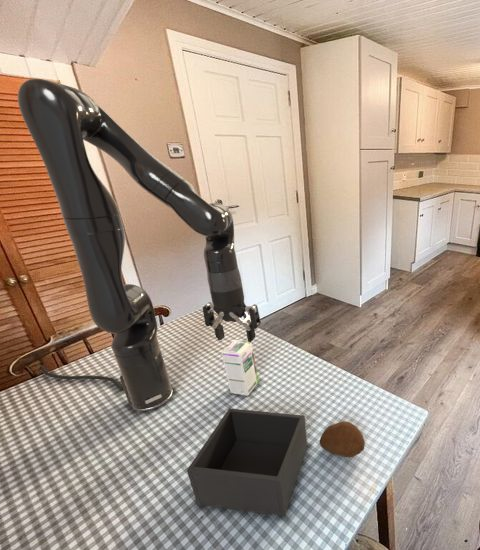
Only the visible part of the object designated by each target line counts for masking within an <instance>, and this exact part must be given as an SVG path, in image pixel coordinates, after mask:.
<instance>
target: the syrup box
mask: <svg viewBox="0 0 480 550" xmlns="http://www.w3.org/2000/svg"><path fill="white" fill-rule="evenodd" d="M221 356H222V360H223V365H224V369H225V373H226V378H227V383H228V387H229V392H230V394H235V395H241V396H249V395H250V394H251V393H252V391H254V389H255V388H256V386H257V385H258V384H259V383H260V381H259V376H258V371H257V365H256V359H255V353H254V348H253V343H252V342H248V340H242V339H234V340H232V342H230V343H229V344H228V345H227V346H226V347H225V348H224V349H223V350H222V351H221Z"/></svg>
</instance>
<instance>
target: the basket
mask: <svg viewBox="0 0 480 550" xmlns="http://www.w3.org/2000/svg"><path fill="white" fill-rule="evenodd" d="M307 450H308V437H307V427H306V416H305V415H303V414H293V413H283V412H282V413H281V412H272V411H263V410H250V409H240V408H230V407H229V408H228V409H227V410H226V412H225V414H224V415H223V417H222V418H221V419H220V421H219V422H218V423H217V425H216V426H215V428H214V429H213V431H212V432H211V434H210V435H209V437H208V438H207V440H206V441H205V443H204V444H203V446H202V447H201V449H200V450H199V451H198V453H196V456H195V457H194V459H193V460H192V461H191V463H190V465H189V466H188V467H187V469H186V473H187V476H188V479H189V483H190V486H191V489H192V493H193V496H194V499H195V502H196V505H197V506H202V507H208V508H209V507H211V508H217V509H225V510H232V511H233V510H234V511H241V512H247V513H257V514H264V515H272V516H277V517H278V516H279V517H286V515H287V512H288V508H289V505H290V503H291V500H292V496H293V494H294V490H295V487H296V485H297V482H298V479H299V475H300V472H301V468H302V465H303V463H304V459H305V456H306V453H307Z"/></svg>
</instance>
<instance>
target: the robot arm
mask: <svg viewBox="0 0 480 550" xmlns="http://www.w3.org/2000/svg"><path fill="white" fill-rule="evenodd" d="M17 104H18V107H19V111H20V115H21V116H22V119H23V121H24V124H25V125H26V128H27V130H28V133H29V134H30V136H31V138H32V140H33V142H34V144H35V147H36V148H37V150H38V153H39V155H40V157H41V160H42V162H43V164H44V166H45V169H46V172H47V175H48V177H49V180H50V184H51V186H52V189H53V192H54V194H55V197H56V199H57V203H58V206H59V210H60V213H61V217H62V220H63V223H64V225H65V228H66V229H65V230H66V231H67V235H68V237H69V239H70V243H71V244H72V247H73V250H74V253H75V257H76V261H77V264H78V267H79V269H80V273H81V277H82V280H83V284H84V289H85V296H86V302H87V306H88V311H89V315H90V318H91V319H92V321H93V323H94V324H95V325H96V326H97V327H98V328H99V329H100V330H102V331H104V332H105V333H109V334H114V336H113V339H112V341H111V349H112V353H113V355H114V358H115V360H116V363H117V367H118V369H119V371H120V376H119V380H120V382H119V381H117V380H116V379H115V378H112V377H109V376H103V375H102V376H101V375H59V374H55V373H52V372H49V371H48V370H47V368H46V367H45V365H43V364H41V365H40V366H39V370H41V371H42V372H43V374H44V375H45V376H47V377H50V378H53V379H54V378H55V379H61V380H102V381H109V382H111V383H113V384H114V385H115V386H116V388H118V389H119V390H120V391H124V395H125V397H126V399H127V402H128V405H129V406H131V407H132V409H133V410H135V411H137V412H149V411H153V410H155V409H157V408H159V407H161V406H163V405H165V404H166V403H167V402H168V401H169V400H170V399H171V398H172V397H173V395H174V389H173V387H172V385H171V380H170V377H169V374H168V371H167V367H166V363H165V359H164V356H163V352H162V350H161V346H160V342H159V340H158V328H159V327H158V322H157V318H156V313H155V309H154V305H153V302H152V298H151V297H150V295H149V294H148V292H147V291H146V290H145V289H144V288H143V287H140V286H139V285H136V284H134V283H133V284H132V283H125V284H124V281H123V275H122V274H123V273H122V270H123V269H122V267H123V259H124V254H125V248H126V247H125V246H126V232H125V227H124V223H123V219H122V216H121V212H120V209H119V206H118V204H117V202H116V200H115V198H114V197H113V195H112V194H111V192H110V191H109V190H108V188H107V187H106V186H105V184H104V183H103V182H102V180H101V178H100V177H99V176H98V175H97V174H96V172H95V170H94V169H93V167H92V164H91V163H90V159H89V156H88V153H87V149H86V146H85V142H87V143H89V144H90V145H93V146H94V147H96V148H98V149H99V150H101V151H102V152H104V153H106V154H107V155H108V156H109V157H111V158H112V159H113V160H114V161H116V162H117V163H118V164H119V165H120V167H121V168H123V169H124V171H125V172H126V173H127V174H128V175H129V177H131V179H132V180H133V181H134V182H135V183H136V184H137V185H138V186H139V187H140V188H142V189H143V190H144V191H146V192H147V193H148V194H150V196H153V198H155V199H156V200H158V201H159V202H161V203H163V204H164V205H165V206H166V207H168V208H169V209H171V210H172V211H173V212H174V213H175V214H176V215H177V217H179V218H180V219H181V220H182V221H183V222H184V223H185V224H186V225H187V226H188V227H189V228H190V229H191V230H193V231H194V232H195V233H197V234H199V235H200V236H202V237H205V247H204V250H203V259H204V264H205V269H206V275H207V276H206V277H207V278H206V279H207V284H208V288H209V293H210V297H211V301H209V302H208V303H206V304H205V305H204V306H202V313H203V319H204V325H205V327H212V329H213V331H214V335H215V338H216V339H217V341H222V340H223V339H224V338H225V330H224V326H223V324H222V323H223V322H225V323H228V322H232V323H237V324H238V325H239V326H242V327H243V328H244V329H245V333H246V338H247V341H248V342H251V343H252V342H253V341H254V340H255V338H256V330H257V329H258V327H259V326H260V325H261V323H262V322H261V317H260V311H259V307H258V305H257V304H256V303H255V304H252V305H246V304H245V293H244V289H243V287H244V286H243V282H242V276H241V272H240V269H239V265H238V264H239V263H238V259H237V253H236V249H235V225H234V219H233V216H232V215H233V214H232V212H231V211H230V209H229V208H228V207H227V206H226V205H224V204H223V203H220V202H210V203H208V202H207V201H206V200H205V199H204V198H202V197H201V196H200V195H199V194H198V193H197V189H196V188H195V186H194V185H193V184H191V182H190V181H188V180H187V179H185V178H184V177H183V176H182V175H181V174H179V173H178V172H176V171H175V170H173V168H171V167H169V166H168V165H167V164H165V162H163V161H162V160H160V159H159V158H157V157H156V155H154V154H153V153H151V151H149V150H148V149H146V148H145V147H144V146H143V145H141V144H140V142H138V141H137V140H136V139H135V138H134V137H133V136H131V135H130V134H129V133H128V132H127V131H126V130H125V129H124V128H123V127H122V126H121V125H120V124H119V123H118V122H117V121H115V120H114V119H113V117H112V116H110V114H108V113H107V112H106V111H105V109H104V108H102V106H100V104H98V103H97V102H96V101H95V100H94V99H93V98H92V97H91V96H89V95H88V94H87V93H86V92H83V91H82V90H80V89H77V88H75V87H72V86H69V85H66V84H62V83H59V82H55V81H53V80H52V81H51V80H48V79H44V78H30V79H26V80H25V81H24V82H22V84H21V85H20V86H19V88H18V92H17ZM84 141H85V142H84ZM215 313H216V314H217V317H216V318H215ZM242 318H243V319H242ZM48 372H49V373H48ZM120 383H121V384H120Z"/></svg>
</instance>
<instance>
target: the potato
mask: <svg viewBox="0 0 480 550" xmlns="http://www.w3.org/2000/svg"><path fill="white" fill-rule="evenodd" d="M365 443H366V442H365V439H364V435H363V433H362V432H361V431H360V429H359V428H358V426H356V425H355V424H353V422H350V421H347V420H344V421H338V422H336V423H333V424H330V425H328V426H327V427H326V428H325V429H324V431H322V434H321V436H320V439H319V445H320V448H322V449H323V450H325V451H326V452H328V453H330V454H332V455H335V456H340V457H343V458H347V459H351V458H354V457H356V456H358V455H360V454H361V453H362V452H364V450H365V447H366V446H365V445H366V444H365Z"/></svg>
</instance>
